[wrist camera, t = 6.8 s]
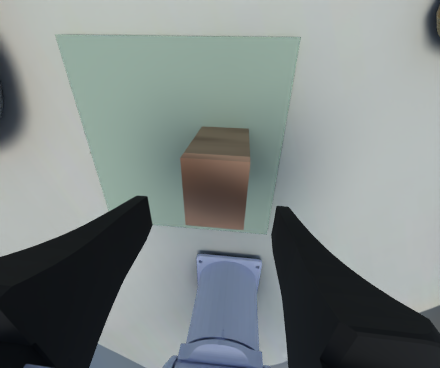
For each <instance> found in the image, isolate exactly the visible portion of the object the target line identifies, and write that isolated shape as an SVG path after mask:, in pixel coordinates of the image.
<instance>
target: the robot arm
mask: <svg viewBox="0 0 440 368" xmlns="http://www.w3.org/2000/svg"><path fill="white" fill-rule="evenodd" d="M152 225H153V224H152V218H151V213H150V207H149V202H148V196H135V197H133V198H131V199H130V200H128V201H126V202H124V203H123V204H121V205H119V206H118V207H116V208H114V209H112V210H111V211H109V212H107V213H106V214H104V215H102V216H100V217H98V218H97V219H95V220H93V221H91V222H89V223H87V224H85V225H83V226H81V227H79V228H77V229H75V230H73V231H71V232H68V233H66V234H64V235H62V236H59V237H57V238H54V239H52V240H49V241H46V242H44V243H41V244H39V245H36V246H33V247H30V248H27V249H24V250H21V251H18V252H15V253H12V254H9V255H5V256H2V257H0V368H89V366H90V363H91V361H92V358H93V355H94V352H95V349H96V346H97V344H98V341H99V338H100V336H101V333H102V331H103V328H104V325H105V323H106V320H107V318H108V315H109V313H110V310H111V308H112V306H113V303H114V301H115V298H116V296H117V294H118V292H119V290H120V287H121V285H122V283H123V281H124V279H125V277H126V275H127V273H128V271H129V270H130V268H131V266H132V265H133V263H134V261H135V259H136V258H137V256H138V254H139V252H140V251H141V249H142V247H143V245H144V243H145V242H146V240H147V237H148V235H149V233H150V230H151V227H152ZM271 236H272V249H273V255H274V260H275V265H276V270H277V275H278V280H279V285H280V289H281V295H282V302H283V311H284V321H285V331H286V342H287V355H288V367H289V368H440V333H439V332H438V330H437V329H436V328H435V326H434V325H433V324H432V323H431V321H430V320H429V319H428V318H426V317H424V316H423V315H421V314H419V313H418V312H416V311H414V310H412V309H411V308H409V307H407V306H405V305H404V304H402V303H400V302H399V301H397V300H395V299H394V298H392V297H390V296H389V295H387V294H386V293H384V292H383V291H381V290H380V289H378V288H376V287H375V286H373V285H372V284H371V283H369V282H368V281H366V280H365V279H363V278H362V277H361V276H359V275H358V274H357V273H355V272H354V271H353V270H351V269H350V268H349V267H347V266H346V265H345V264H343V263H342V262H341V261H340V260H339V259H338V258H336V257H335V256H334V255H333V254H332V253H331V252H329V251H328V250H327V249H326V248H325V247H324V246H323V245H322V244H321V243H320V242H319V241H318V240H317V239H316V238H315V237H314V236H313V235H312V234H311V233H310V232H309V231H308V229H307V228H306V227H305V226H304V225H303V224H302V223H301V221H300V220H299V219H298V218H297V217H296V215H295V214H294V213H293V212H292V211H291V209H290V208H289V207H284V206H277V207H276V213H275V218H274V223H273V229H272V234H271ZM196 259H197V278H198V289H197V294H196V299H195V303H194V308H193V313H192V318H191V322H190V327H189V332H188V336H187V341H186V344H183V343H182V344H181V346H180V350H179V355H178V356H176V355H173V356H172V357H171V358H170V359H169V360H168V361H167V362H166V363H165V365H164V366H163V368H271V367H270V366H267V365H263V362H262V352H261V351H259V337H258V316H257V291H258V285H259V279H260V274H261V268H262V261H261V260H259V259H250V258H240V257H229V256H219V255H208V254H198V255H197V258H196ZM201 260H202V261H201Z"/></svg>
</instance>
